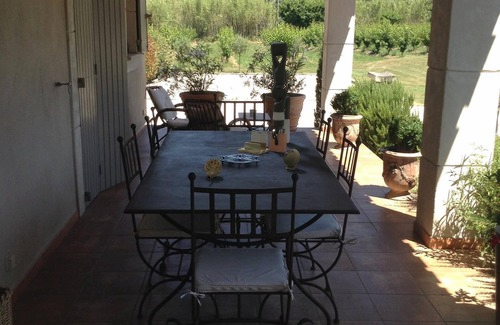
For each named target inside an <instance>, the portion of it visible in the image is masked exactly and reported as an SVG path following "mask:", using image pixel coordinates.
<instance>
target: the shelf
mask: <svg viewBox="0 0 500 325" xmlns="http://www.w3.org/2000/svg"><path fill="white" fill-rule="evenodd" d="M243 144H244V147H241V148H238V149H237V152H238V153H239V152H240V153H245V152H246V154H253V155H261V154H264V153H268V152H271V151H270V149H269V148H268V147H266V143H264V142H256V141H251V140H249V141H248V142H247V141H245V142H244V143H243Z"/></svg>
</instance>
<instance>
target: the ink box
mask: <svg viewBox="0 0 500 325" xmlns="http://www.w3.org/2000/svg"><path fill="white" fill-rule="evenodd" d="M268 132H269V131H268V130H253V129H252V130H251V135H250V136H251V138H250V141H256V142H264V143H266V148H269V134H268Z"/></svg>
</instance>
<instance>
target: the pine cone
mask: <svg viewBox="0 0 500 325" xmlns="http://www.w3.org/2000/svg"><path fill="white" fill-rule="evenodd" d="M222 166H223V165H222V162H221V160H219V159H218V158H216V157H213V158H212V159H211V158H210V159H208V160H207V161H206V162H205V165H204V171H205V173H206V175H207V176H208V177H209V178H211V179H213V178H214V177H215V178H217V177H218V176H219V175H220V173H221V171H222Z"/></svg>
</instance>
